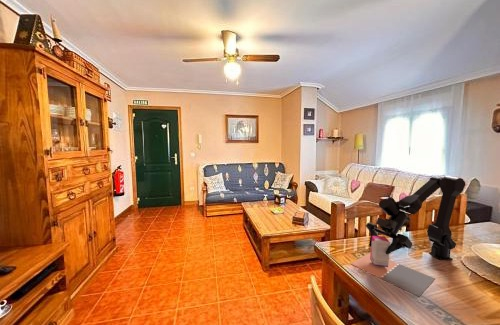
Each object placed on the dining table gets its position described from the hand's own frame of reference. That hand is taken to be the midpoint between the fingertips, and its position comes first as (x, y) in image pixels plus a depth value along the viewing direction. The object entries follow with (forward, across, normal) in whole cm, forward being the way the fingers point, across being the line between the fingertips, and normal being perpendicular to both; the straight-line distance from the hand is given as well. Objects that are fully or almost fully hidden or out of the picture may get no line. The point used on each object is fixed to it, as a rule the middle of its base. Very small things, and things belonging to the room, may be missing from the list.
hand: (377, 249), depth 97 cm
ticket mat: (+4, +5, +7) cm, 9 cm away
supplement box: (+4, 0, +6) cm, 7 cm away
